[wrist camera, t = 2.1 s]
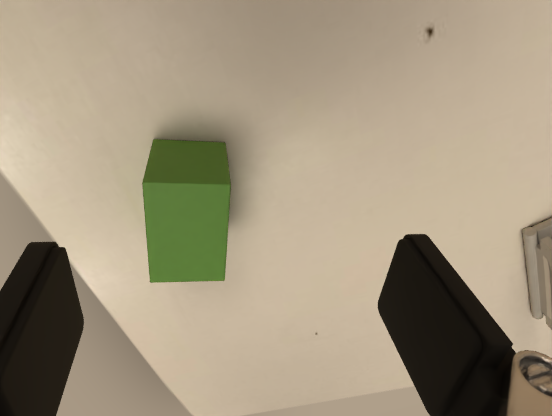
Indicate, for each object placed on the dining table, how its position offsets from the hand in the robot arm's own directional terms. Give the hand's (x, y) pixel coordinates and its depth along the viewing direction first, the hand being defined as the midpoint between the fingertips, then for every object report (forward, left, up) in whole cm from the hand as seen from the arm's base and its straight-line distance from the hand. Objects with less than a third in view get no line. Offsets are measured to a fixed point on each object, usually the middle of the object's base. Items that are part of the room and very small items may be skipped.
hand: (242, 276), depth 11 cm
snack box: (+5, -4, -15) cm, 16 cm away
